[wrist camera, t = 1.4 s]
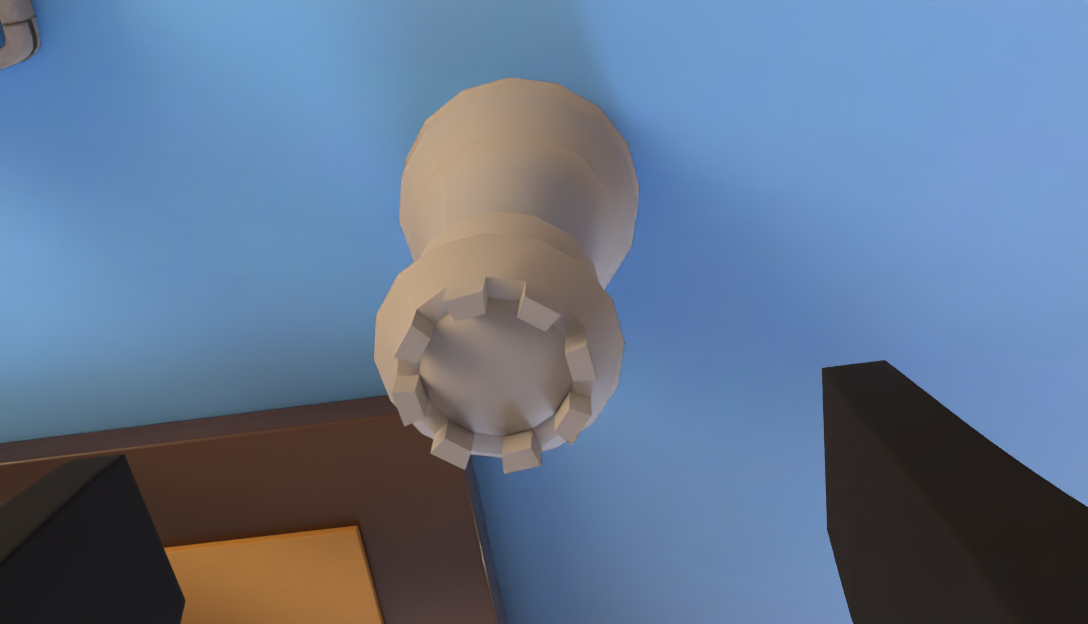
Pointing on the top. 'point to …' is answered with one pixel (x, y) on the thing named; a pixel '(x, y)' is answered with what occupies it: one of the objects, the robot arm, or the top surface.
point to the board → (299, 514)
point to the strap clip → (18, 32)
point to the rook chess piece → (508, 273)
